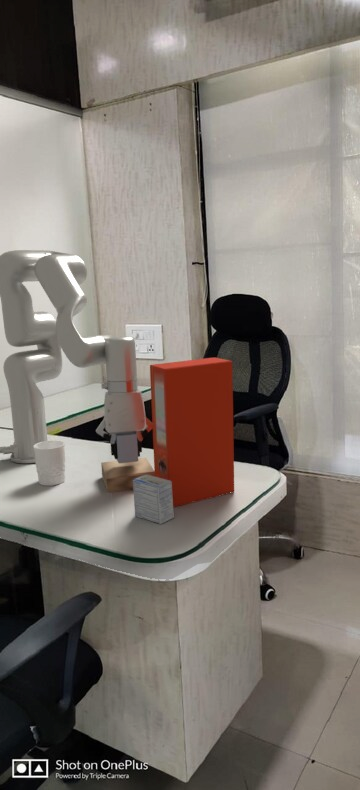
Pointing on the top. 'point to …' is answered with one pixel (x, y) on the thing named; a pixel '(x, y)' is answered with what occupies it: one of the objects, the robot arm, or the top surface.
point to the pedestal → (124, 474)
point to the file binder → (193, 427)
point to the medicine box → (153, 498)
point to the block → (127, 447)
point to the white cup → (50, 462)
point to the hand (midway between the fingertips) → (126, 455)
